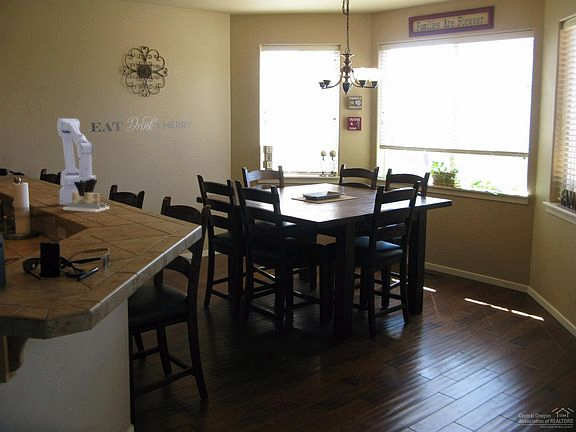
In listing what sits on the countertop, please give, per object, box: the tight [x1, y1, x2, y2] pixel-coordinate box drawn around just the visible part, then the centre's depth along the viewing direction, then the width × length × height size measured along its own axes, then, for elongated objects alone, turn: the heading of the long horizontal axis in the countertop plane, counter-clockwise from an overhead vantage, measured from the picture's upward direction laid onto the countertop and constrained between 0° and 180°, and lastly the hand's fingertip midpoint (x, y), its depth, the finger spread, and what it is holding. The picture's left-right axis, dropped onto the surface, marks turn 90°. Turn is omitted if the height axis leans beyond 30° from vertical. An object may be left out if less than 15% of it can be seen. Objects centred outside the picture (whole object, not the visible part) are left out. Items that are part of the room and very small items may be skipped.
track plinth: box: [62, 202, 110, 213], centre depth 294 cm, size 18×12×3 cm, turn 75°
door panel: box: [72, 191, 101, 205], centre depth 293 cm, size 14×2×7 cm, turn 75°
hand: (86, 195), depth 293 cm, fingers open, 7 cm apart
